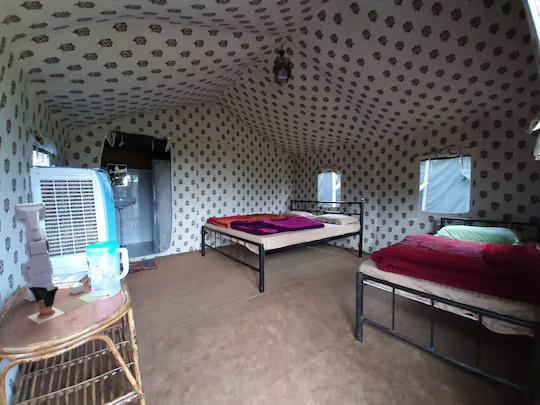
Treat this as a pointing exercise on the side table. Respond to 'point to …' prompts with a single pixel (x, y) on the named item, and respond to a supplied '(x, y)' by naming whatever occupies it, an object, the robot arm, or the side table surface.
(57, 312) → the board
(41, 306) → the pawn
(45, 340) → the side table surface
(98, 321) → the side table surface
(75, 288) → the die
